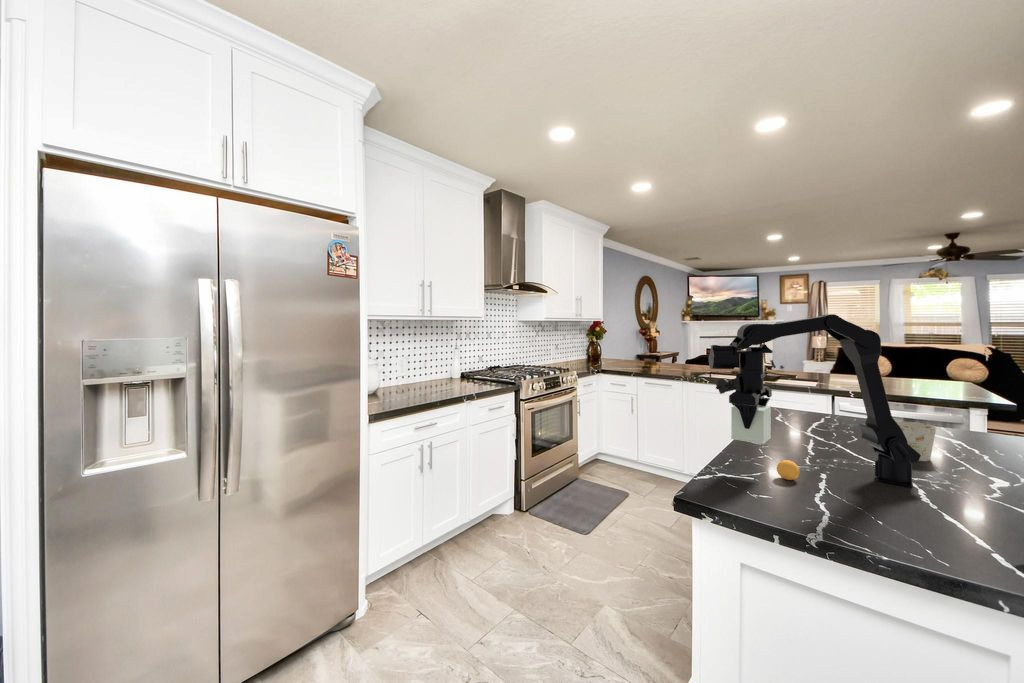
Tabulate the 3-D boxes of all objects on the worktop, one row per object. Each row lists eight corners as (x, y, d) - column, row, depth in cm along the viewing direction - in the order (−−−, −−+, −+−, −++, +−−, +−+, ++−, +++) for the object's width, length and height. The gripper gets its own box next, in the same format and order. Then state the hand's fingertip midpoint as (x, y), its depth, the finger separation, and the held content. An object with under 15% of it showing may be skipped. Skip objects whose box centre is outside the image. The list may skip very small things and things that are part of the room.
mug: (944, 463, 114) (944, 428, 114) (892, 461, 117) (892, 427, 116) (920, 454, 122) (920, 422, 122) (873, 452, 125) (873, 421, 125)
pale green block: (770, 438, 110) (770, 406, 110) (763, 444, 105) (763, 411, 105) (739, 433, 116) (739, 403, 115) (731, 438, 110) (731, 407, 110)
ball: (801, 478, 106) (801, 460, 105) (797, 484, 102) (797, 465, 102) (779, 474, 109) (779, 456, 109) (774, 479, 106) (774, 460, 105)
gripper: (729, 365, 122) (729, 416, 122) (708, 370, 109) (708, 427, 109) (772, 367, 114) (772, 421, 115) (755, 373, 101) (754, 434, 101)
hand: (751, 425), depth 110 cm, fingers closed on pale green block, 8 cm apart
